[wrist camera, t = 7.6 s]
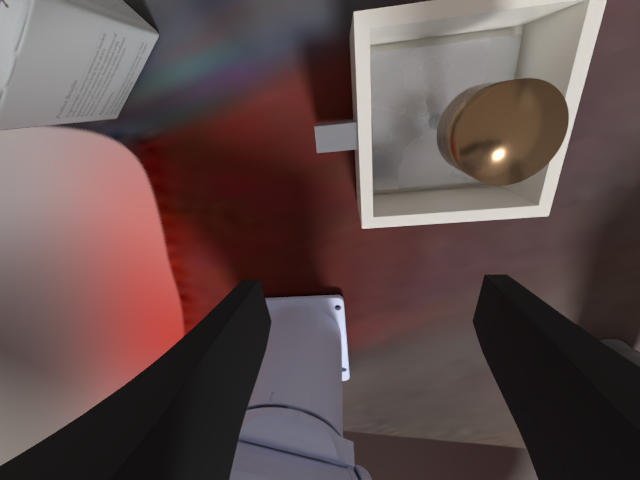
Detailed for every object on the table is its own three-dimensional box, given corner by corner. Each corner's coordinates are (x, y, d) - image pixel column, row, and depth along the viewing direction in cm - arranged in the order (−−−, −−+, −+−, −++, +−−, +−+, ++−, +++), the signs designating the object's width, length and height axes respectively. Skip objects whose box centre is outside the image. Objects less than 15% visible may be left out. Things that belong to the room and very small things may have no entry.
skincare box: (56, -65, 14) (-200, -215, 7) (164, 36, 15) (34, -13, 9) (20, 45, 16) (-203, 5, 9) (117, 123, 18) (-15, 136, 11)
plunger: (491, 178, 17) (599, 231, 10) (372, 187, 18) (395, 244, 11) (514, 36, 14) (694, -32, 7) (369, 54, 15) (398, 10, 8)
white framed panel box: (501, 190, 18) (548, 216, 14) (327, 204, 19) (324, 231, 15) (534, 11, 14) (613, -26, 10) (312, 41, 15) (302, 18, 11)
